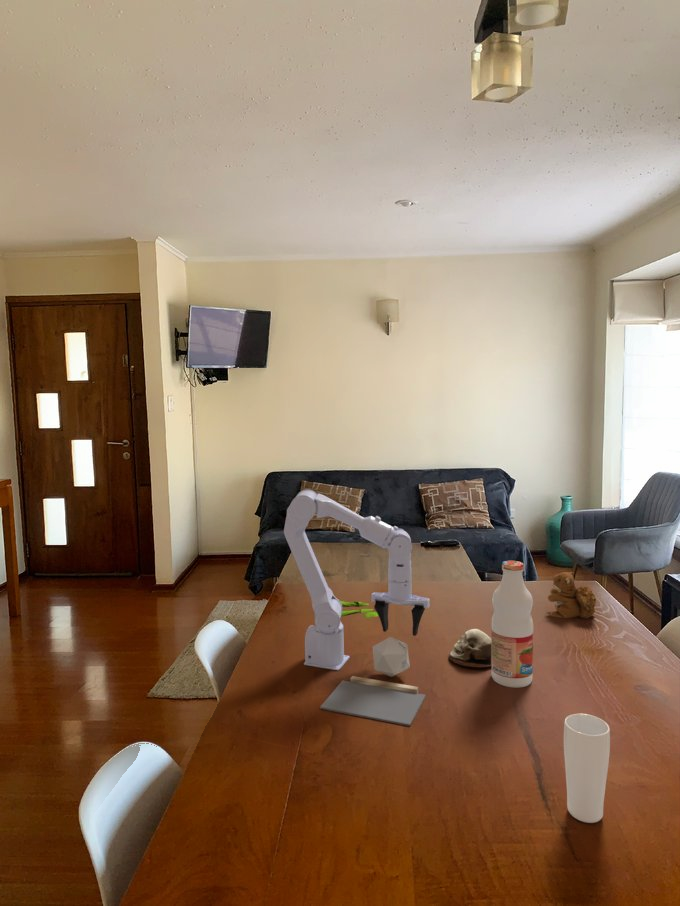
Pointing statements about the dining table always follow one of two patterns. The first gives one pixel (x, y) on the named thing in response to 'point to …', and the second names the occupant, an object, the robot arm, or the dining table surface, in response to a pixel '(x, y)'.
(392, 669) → the die
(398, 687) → the stop bar
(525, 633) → the fruit juice
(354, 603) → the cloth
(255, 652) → the dining table surface
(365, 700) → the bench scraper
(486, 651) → the skull
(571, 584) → the stuffed squirrel
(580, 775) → the drinking glass
